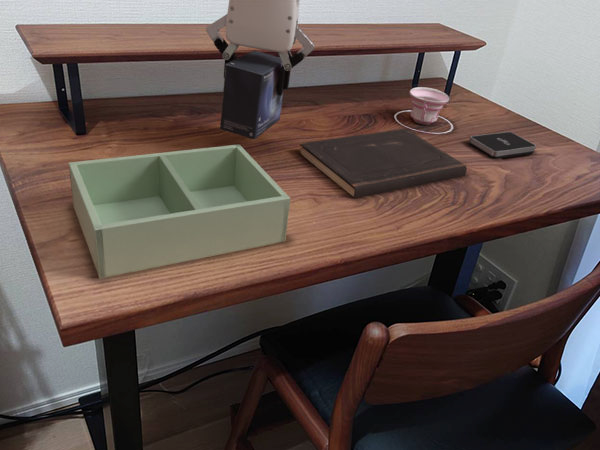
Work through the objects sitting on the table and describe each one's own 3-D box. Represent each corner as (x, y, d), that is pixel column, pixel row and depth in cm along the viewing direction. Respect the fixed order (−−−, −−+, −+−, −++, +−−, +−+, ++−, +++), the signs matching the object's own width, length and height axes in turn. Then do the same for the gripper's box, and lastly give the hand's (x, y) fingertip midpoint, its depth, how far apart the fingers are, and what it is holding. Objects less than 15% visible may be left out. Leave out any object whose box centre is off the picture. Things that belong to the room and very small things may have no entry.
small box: (256, 141, 84) (263, 73, 79) (218, 130, 86) (222, 63, 80) (282, 120, 93) (290, 58, 87) (246, 110, 94) (252, 49, 89)
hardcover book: (298, 155, 92) (299, 143, 91) (403, 140, 103) (405, 128, 102) (353, 202, 81) (356, 188, 80) (464, 178, 92) (468, 166, 91)
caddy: (99, 282, 59) (94, 229, 56) (73, 210, 71) (68, 162, 67) (284, 244, 70) (290, 198, 66) (236, 186, 81) (239, 144, 77)
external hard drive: (534, 155, 104) (537, 146, 103) (491, 162, 99) (495, 152, 98) (507, 140, 109) (510, 131, 108) (465, 146, 104) (468, 136, 103)
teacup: (398, 108, 118) (404, 80, 115) (454, 121, 116) (463, 92, 112) (388, 127, 108) (395, 96, 105) (450, 141, 106) (458, 110, 102)
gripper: (331, -29, 80) (312, 90, 89) (213, -49, 80) (207, 72, 89) (327, -21, 73) (308, 106, 83) (199, -43, 74) (194, 86, 83)
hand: (255, 87), depth 86 cm, fingers closed on small box, 7 cm apart
